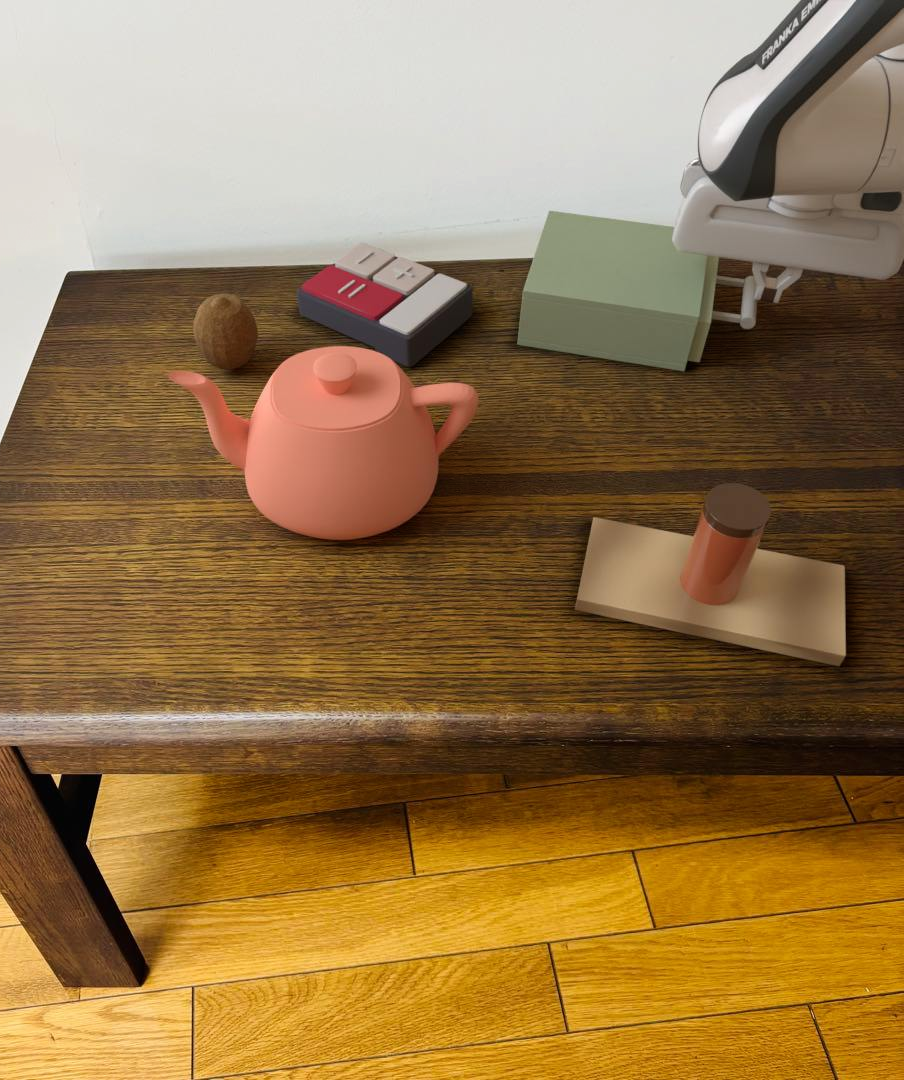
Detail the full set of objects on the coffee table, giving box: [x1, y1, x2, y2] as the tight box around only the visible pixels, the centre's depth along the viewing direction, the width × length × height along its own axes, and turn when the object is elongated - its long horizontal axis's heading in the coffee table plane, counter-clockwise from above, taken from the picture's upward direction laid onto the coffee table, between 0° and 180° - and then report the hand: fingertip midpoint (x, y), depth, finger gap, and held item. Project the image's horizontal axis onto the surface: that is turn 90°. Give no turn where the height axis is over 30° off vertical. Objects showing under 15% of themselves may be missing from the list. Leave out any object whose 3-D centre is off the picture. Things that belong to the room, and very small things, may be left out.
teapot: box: [167, 345, 480, 541], centre depth 84 cm, size 25×17×13 cm
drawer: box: [687, 256, 758, 363], centre depth 101 cm, size 20×13×5 cm
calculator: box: [296, 242, 474, 368], centre depth 104 cm, size 11×4×15 cm
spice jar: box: [680, 482, 772, 605], centre depth 76 cm, size 5×5×9 cm
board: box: [574, 516, 847, 667], centre depth 80 cm, size 20×9×2 cm, turn 73°
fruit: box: [192, 293, 259, 370], centre depth 98 cm, size 6×6×8 cm
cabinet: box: [516, 210, 708, 372], centre depth 101 cm, size 17×15×7 cm
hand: (765, 298), depth 98 cm, fingers closed, pressing on drawer
